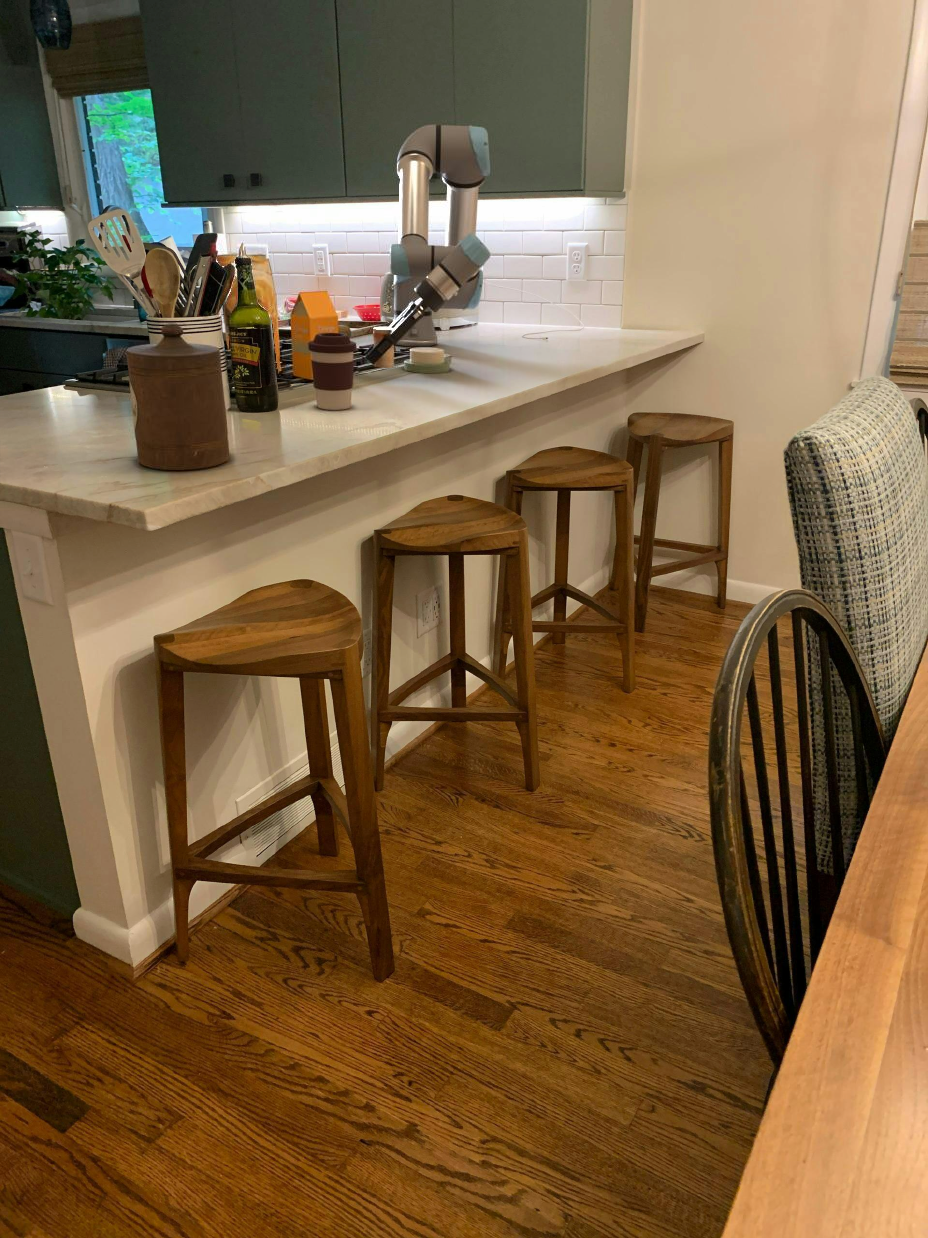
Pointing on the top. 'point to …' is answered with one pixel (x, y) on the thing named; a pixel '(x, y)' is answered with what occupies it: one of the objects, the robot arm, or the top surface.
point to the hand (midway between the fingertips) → (368, 358)
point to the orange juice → (310, 327)
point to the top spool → (388, 357)
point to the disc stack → (426, 361)
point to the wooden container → (178, 403)
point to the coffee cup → (332, 369)
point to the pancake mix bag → (263, 292)
